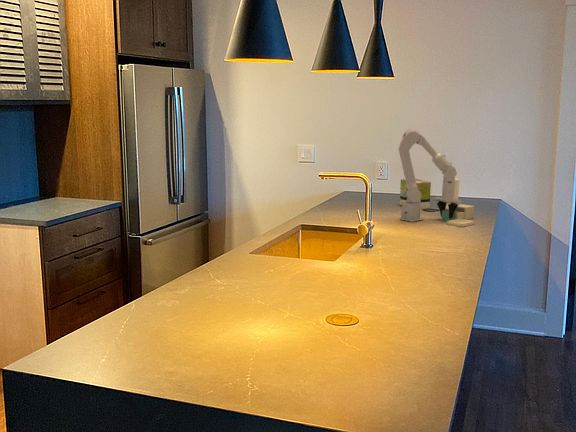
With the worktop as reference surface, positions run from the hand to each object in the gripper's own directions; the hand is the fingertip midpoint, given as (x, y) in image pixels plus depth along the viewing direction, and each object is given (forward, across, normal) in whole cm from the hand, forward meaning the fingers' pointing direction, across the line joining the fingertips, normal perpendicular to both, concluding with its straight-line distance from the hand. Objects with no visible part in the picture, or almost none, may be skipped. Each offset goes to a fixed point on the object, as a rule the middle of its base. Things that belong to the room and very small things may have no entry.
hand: (446, 217), depth 321 cm
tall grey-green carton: (+1, 0, -2) cm, 2 cm away
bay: (+1, 0, -10) cm, 10 cm away
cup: (+2, +20, -32) cm, 38 cm away
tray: (+1, -10, +4) cm, 11 cm away
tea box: (+2, +34, -20) cm, 39 cm away
